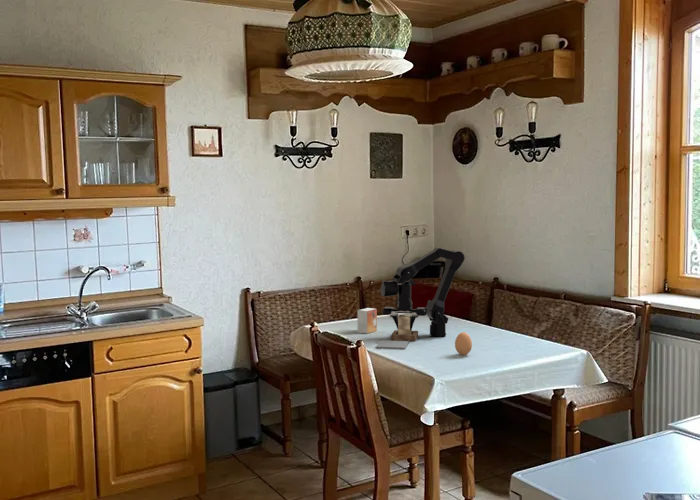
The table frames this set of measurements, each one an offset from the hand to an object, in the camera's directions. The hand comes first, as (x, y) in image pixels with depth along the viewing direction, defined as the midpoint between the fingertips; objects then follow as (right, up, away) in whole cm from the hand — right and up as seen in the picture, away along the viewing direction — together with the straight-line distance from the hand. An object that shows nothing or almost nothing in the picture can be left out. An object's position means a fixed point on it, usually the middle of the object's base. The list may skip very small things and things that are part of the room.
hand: (404, 330), depth 314 cm
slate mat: (-6, -5, -14) cm, 16 cm away
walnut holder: (0, -4, 0) cm, 4 cm away
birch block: (0, -4, 0) cm, 4 cm away
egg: (+21, -6, -32) cm, 38 cm away
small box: (-16, -3, +16) cm, 23 cm away
